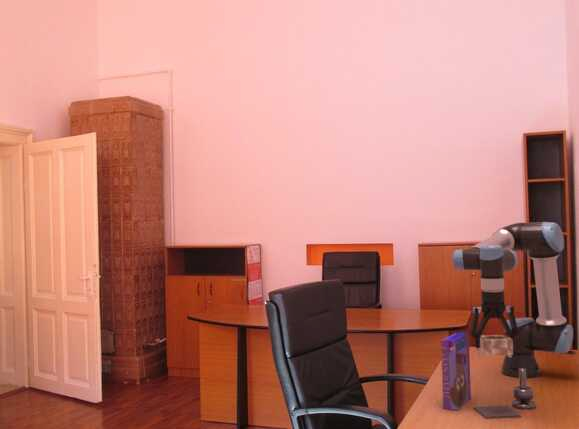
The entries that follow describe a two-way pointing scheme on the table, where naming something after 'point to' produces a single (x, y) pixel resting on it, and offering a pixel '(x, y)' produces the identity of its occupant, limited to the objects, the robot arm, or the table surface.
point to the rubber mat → (497, 411)
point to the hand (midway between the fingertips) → (494, 356)
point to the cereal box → (455, 371)
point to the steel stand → (523, 393)
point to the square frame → (497, 345)
